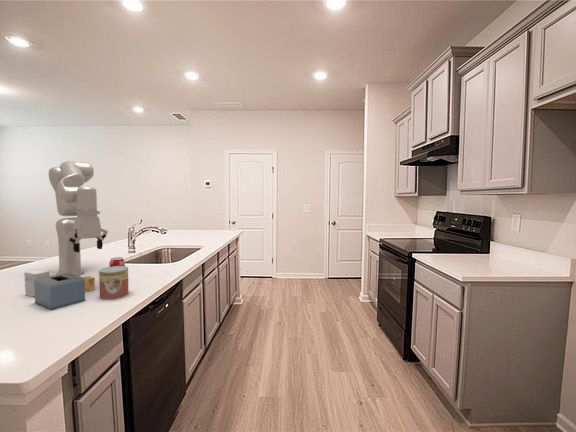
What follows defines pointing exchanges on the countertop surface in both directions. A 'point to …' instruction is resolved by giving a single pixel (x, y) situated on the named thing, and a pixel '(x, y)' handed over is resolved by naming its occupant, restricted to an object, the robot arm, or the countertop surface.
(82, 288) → the grey block
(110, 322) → the countertop surface
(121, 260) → the soda can
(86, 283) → the golden tan rectangular block
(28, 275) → the small box
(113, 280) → the canned food
